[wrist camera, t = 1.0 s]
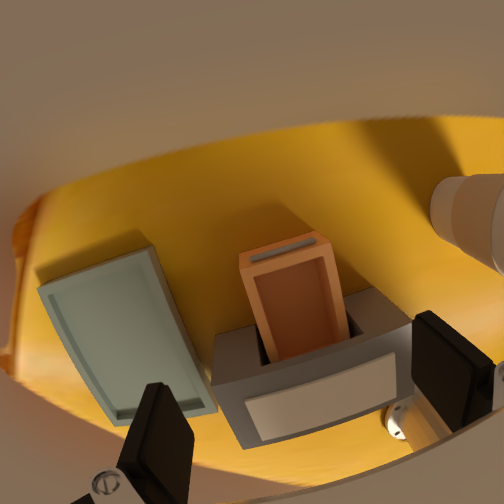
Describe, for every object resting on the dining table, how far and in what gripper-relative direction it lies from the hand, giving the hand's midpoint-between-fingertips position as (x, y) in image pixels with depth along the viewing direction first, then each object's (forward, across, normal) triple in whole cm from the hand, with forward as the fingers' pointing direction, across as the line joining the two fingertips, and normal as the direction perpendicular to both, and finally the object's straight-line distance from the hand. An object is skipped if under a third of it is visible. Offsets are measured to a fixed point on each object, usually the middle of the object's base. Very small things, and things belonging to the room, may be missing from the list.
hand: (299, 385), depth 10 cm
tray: (+18, +15, +6) cm, 24 cm away
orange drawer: (+18, -2, +5) cm, 19 cm away
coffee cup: (+18, -21, 0) cm, 27 cm away
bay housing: (+18, -2, +10) cm, 20 cm away
